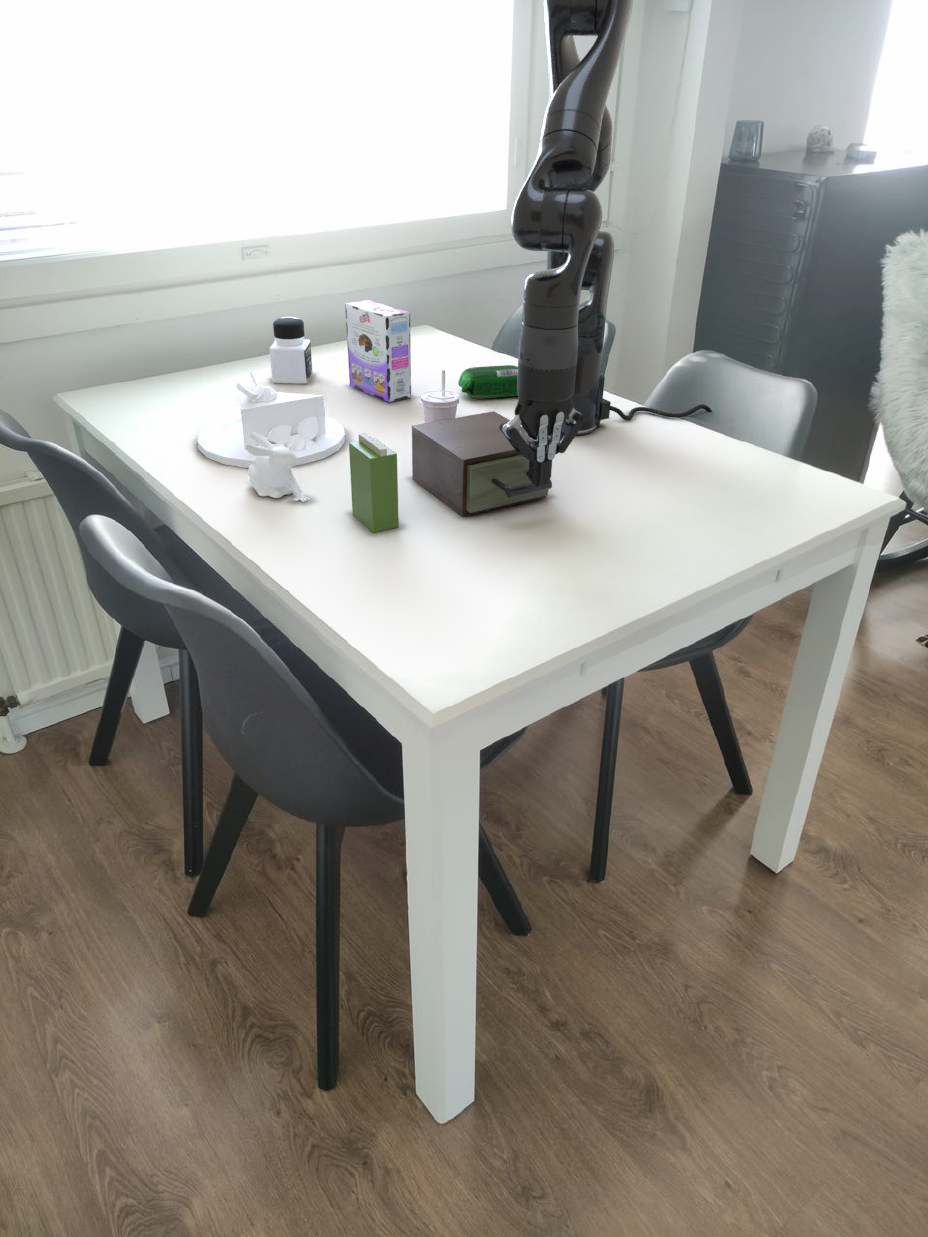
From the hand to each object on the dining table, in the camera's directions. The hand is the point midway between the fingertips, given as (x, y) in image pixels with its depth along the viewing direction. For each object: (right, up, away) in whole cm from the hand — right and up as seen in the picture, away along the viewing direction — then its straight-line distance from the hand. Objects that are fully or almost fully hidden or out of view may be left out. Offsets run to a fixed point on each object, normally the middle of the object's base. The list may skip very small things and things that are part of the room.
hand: (539, 483), depth 126 cm
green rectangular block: (-23, -5, +5) cm, 24 cm away
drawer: (-6, 0, +12) cm, 13 cm away
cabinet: (-8, +2, +16) cm, 18 cm away
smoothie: (-15, +9, +28) cm, 33 cm away
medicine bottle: (-46, +31, +62) cm, 83 cm away
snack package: (-4, +26, +55) cm, 61 cm away
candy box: (-27, +26, +55) cm, 67 cm away
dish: (-43, +12, +31) cm, 55 cm away
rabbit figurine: (-40, 0, +13) cm, 42 cm away
